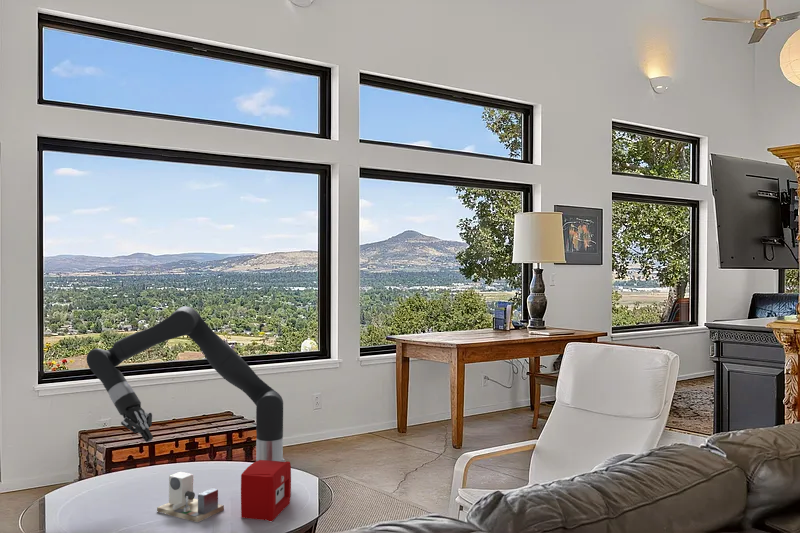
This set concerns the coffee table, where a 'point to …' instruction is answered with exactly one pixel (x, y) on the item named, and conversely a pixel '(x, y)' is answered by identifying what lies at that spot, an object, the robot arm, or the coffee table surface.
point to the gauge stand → (189, 515)
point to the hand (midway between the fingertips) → (149, 440)
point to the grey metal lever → (186, 508)
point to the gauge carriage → (180, 489)
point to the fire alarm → (265, 489)
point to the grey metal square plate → (208, 501)
